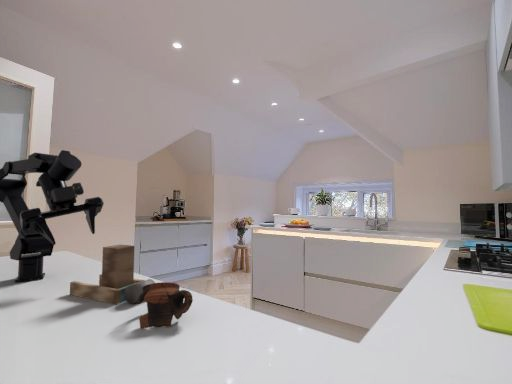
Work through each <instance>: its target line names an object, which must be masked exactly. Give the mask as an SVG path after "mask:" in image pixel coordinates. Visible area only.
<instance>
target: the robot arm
mask: <svg viewBox="0 0 512 384" xmlns="http://www.w3.org/2000/svg"><path fill="white" fill-rule="evenodd" d="M81 167H82V161H81V159H79V158H78V157H76V156H75V155H74V154H71V152H70V150H65V149H62V150H60V152H59V154H58V155H57V154H56V155H54V154H48V153H41V152H33V153H31V154H29V155H28V157H27V158H26V159H19V160H14V161H5V162H4V164H3V166H2V167H1V168H0V203H2V204H3V205H4V207H5V209H6V210H7V211H6V212H7V213H8V215H9V217H10V219H11V221H12V223H13V225H14V227H15V229H16V231H17V233H18V235H17V237H16V239H15V242H14V244H13V245H12V247H11V249H10V250H9V256H10V257H9V258H10V260H15V261H18V269H17V270H18V271H17V276H16V277H15V279H13V281H14V283H16V282H25V281H26V282H27V281H34V280H43V279H44V278H45V275H46V273H45V272H44V258H45V257H51V256H52V254H53V249H54V246H55V245H56V240H55V237H54V235H53V233H52V231H51V230H50V227H49V226H48V224H47V220H48V219H53V218H56V217H61V216H62V217H63V216H66V215H72V214H76V213H79V212H80V213H81V212H84V214H85V220H86V222H87V225H88V227H89V230H90V232H91V234H92V235H94V234H95V233H96V230H95V229H96V228H95V227H96V225H95V223H96V222H95V219H96V217H97V216H98V214H100V213H101V211H102V209H103V206H104V200H103V199H102V197H99V196H95V197H90V198H85V200H84V203H83V204H78V205H76V204H77V202H78V200H77V198H78V196H82V195H83V194H84V193H85V191H84V188H83V185H82V183H81V182H73V183H72V184H71V185H69V186H67V183H66V182H68V181H70V180H71V179H72V178H73V177H74V176H75V174H76V173H77V172H78V171H79V170H80V169H81ZM35 173H36V174H41V175H39V177H38V179H37V181H36V184H35V186H36V187H41V190H42V193H43V196H44V199H45V202H46V205H48V208H49V210H46V211H41V209H40V207H35V208H29V207H28V205H27V203H26V201H25V199H24V197H23V193H24V191H25V189H26V187H27V186H28V182H27V179H26V175H28V174H35ZM9 175H18V176H21V178H20V179H15V178H6V177H7V176H9Z"/></svg>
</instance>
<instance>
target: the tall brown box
mask: <svg viewBox="0 0 512 384" xmlns="http://www.w3.org/2000/svg"><path fill="white" fill-rule="evenodd" d="M101 274H102V286H104V287H109V288H115V289H119V288H122V287H125V286H128V285H131V284H133V279H135V278H134V274H135V245H130V244H120V243H119V244H114V245H107V246H103V247H102V265H101Z"/></svg>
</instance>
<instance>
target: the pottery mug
mask: <svg viewBox="0 0 512 384" xmlns="http://www.w3.org/2000/svg"><path fill="white" fill-rule="evenodd" d="M180 287H181V285H179V284H178V283H176V282H170V281H168V282H167V281H163V282H155V283H153V284H148V285H145V286H144V287H143V288H142V289H143V293H142V294H140V296H139V297H138V299H137V300H138V302H137V303H138V304H141V303H143V302H145V303H146V307H147V313H145V314H143V315H140V316H139V328H140V329H147V328H161V327H162V328H163V327H164V328H165V327H169V326H170V327H171V326H172V321H173V319H174V318H175V319H176V320H180V319H181V318H182V316H183V314H186V313H187V312H188V311H189V310H190V307H191V306H192V304H193V301H194V299H193V294H192V293H191V292H190V291H189V290H187V289H181V290H180ZM173 317H174V318H173Z"/></svg>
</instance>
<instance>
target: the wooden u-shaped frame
mask: <svg viewBox="0 0 512 384" xmlns="http://www.w3.org/2000/svg"><path fill="white" fill-rule="evenodd" d="M153 283H156V282H155V280H153V279H151V278H149V279H146V280H145V279H139V278H134V279H133V284H131V285H128V286H125V287H122V288H119V289H115V288H109V287H104V286H102V273H100V274H99V280H98V284H92V283H86V282H81V281H76V280H75V281H71V282H69V295H71V296H76V297H81V298H85V299H89V300H95V301H100V302H104V303H110V304H113V305H114V304H115V305H119V304H121V303H124V302H127V303H129V304H131V305H133V304H135V303H138V302H139V301H138V300H137V299H138V297H139V296H140V294H142V293H143V289H142V288H143V287H144V286H145V285H148V284H153Z"/></svg>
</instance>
